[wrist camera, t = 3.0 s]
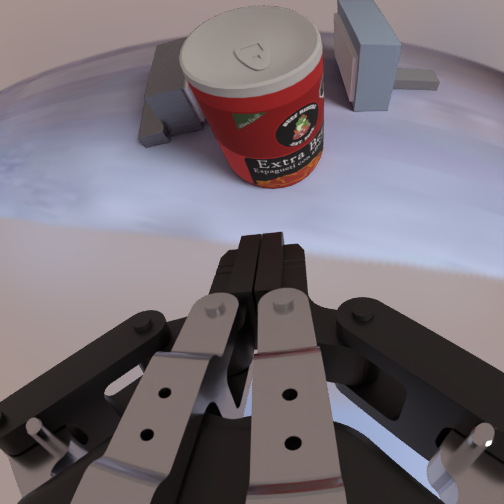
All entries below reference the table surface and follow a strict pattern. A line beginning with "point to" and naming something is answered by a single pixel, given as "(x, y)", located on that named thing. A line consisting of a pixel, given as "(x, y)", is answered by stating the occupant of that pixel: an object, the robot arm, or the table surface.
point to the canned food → (260, 91)
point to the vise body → (168, 99)
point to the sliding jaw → (372, 57)
